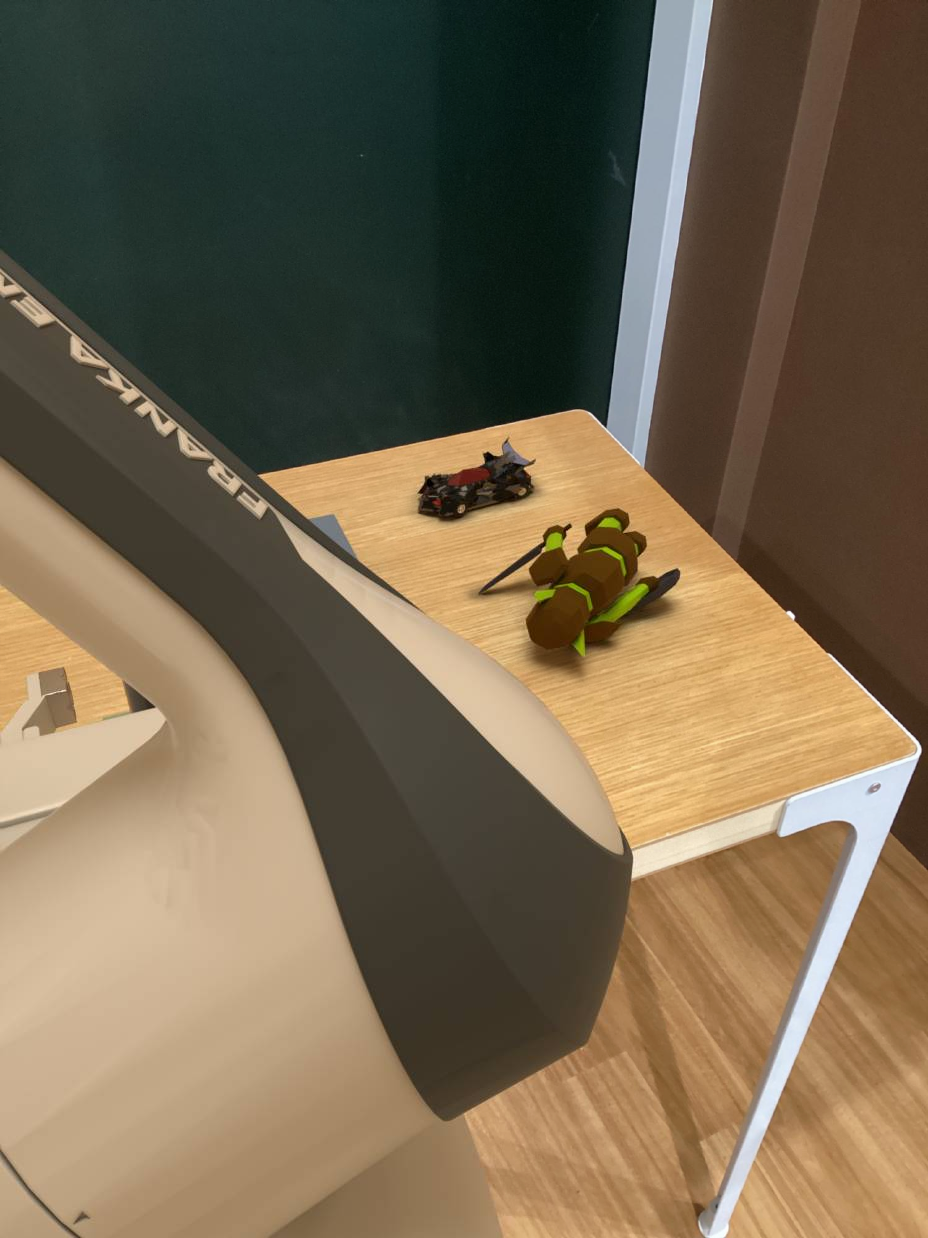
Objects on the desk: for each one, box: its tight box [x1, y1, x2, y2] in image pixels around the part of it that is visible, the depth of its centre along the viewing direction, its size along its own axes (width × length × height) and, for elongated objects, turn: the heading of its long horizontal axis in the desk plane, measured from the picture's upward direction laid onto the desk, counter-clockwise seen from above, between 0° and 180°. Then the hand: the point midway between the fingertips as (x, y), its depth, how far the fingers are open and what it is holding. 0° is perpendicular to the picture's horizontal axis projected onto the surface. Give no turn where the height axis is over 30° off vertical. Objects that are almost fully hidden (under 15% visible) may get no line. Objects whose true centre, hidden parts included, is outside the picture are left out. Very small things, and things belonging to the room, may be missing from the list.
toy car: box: [417, 436, 537, 518], centre depth 103 cm, size 6×12×4 cm, turn 119°
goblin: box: [477, 507, 681, 658], centre depth 89 cm, size 10×14×15 cm
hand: (167, 654), depth 44 cm, fingers open, 8 cm apart
